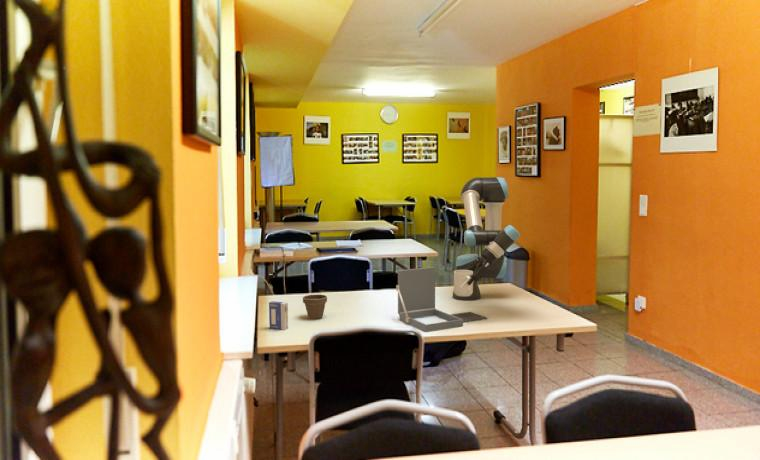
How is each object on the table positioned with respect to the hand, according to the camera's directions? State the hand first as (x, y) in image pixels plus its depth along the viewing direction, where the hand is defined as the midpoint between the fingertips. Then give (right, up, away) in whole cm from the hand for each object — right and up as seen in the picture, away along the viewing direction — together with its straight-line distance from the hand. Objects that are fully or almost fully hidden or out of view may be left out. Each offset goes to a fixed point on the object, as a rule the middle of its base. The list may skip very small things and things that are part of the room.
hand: (459, 286), depth 275 cm
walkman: (-81, -17, -15) cm, 85 cm away
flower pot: (-67, -15, +3) cm, 69 cm away
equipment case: (-14, -16, -7) cm, 22 cm away
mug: (+3, -5, +1) cm, 5 cm away
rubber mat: (+3, -15, +2) cm, 15 cm away
